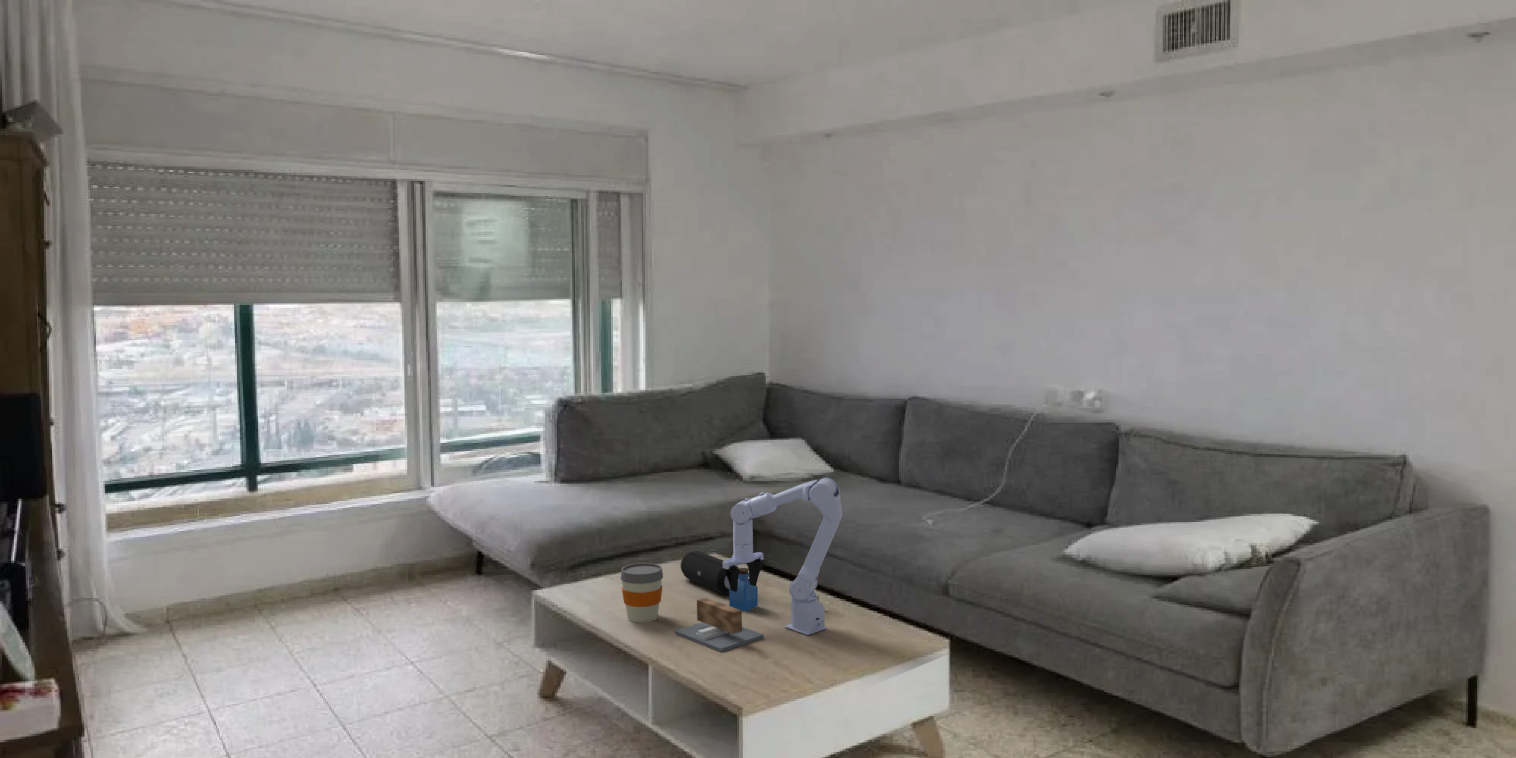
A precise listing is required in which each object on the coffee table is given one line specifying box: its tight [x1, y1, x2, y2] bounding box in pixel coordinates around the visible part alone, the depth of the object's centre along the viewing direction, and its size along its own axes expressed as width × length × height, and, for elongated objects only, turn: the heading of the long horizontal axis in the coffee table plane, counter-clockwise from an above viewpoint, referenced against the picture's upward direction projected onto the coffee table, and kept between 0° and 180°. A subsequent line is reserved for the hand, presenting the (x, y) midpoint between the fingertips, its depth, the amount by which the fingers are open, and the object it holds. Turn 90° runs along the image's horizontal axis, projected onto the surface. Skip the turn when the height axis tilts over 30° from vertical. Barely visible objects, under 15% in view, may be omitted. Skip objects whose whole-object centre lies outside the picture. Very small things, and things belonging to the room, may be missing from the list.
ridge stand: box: [674, 622, 765, 653], centre depth 295 cm, size 20×16×3 cm
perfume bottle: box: [728, 567, 759, 612], centre depth 320 cm, size 6×6×12 cm
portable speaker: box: [680, 550, 740, 596], centre depth 341 cm, size 26×10×10 cm, turn 36°
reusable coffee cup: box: [620, 562, 664, 624], centre depth 311 cm, size 13×13×15 cm
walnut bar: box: [696, 597, 743, 634], centre depth 295 cm, size 16×3×6 cm, turn 43°
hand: (743, 587), depth 305 cm, fingers open, 7 cm apart
